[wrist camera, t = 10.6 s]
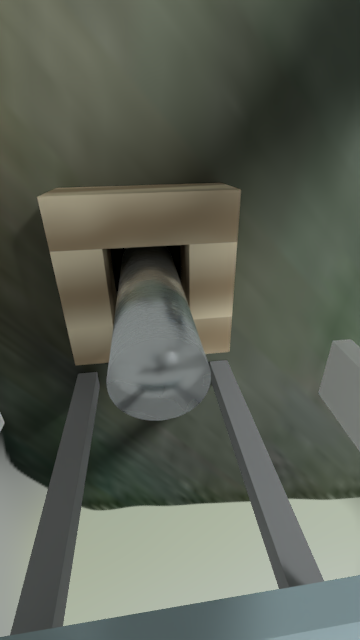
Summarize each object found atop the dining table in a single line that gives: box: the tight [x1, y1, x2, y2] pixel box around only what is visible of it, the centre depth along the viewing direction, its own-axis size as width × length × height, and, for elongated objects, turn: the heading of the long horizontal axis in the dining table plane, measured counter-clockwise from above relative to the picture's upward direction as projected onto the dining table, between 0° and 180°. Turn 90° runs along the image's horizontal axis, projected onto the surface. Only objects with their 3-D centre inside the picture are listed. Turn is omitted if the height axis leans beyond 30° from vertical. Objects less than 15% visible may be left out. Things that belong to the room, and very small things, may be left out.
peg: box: [106, 246, 211, 421], centre depth 19 cm, size 4×4×15 cm
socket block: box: [37, 183, 241, 366], centre depth 23 cm, size 12×12×5 cm
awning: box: [0, 360, 360, 640], centre depth 21 cm, size 6×15×21 cm, turn 91°
